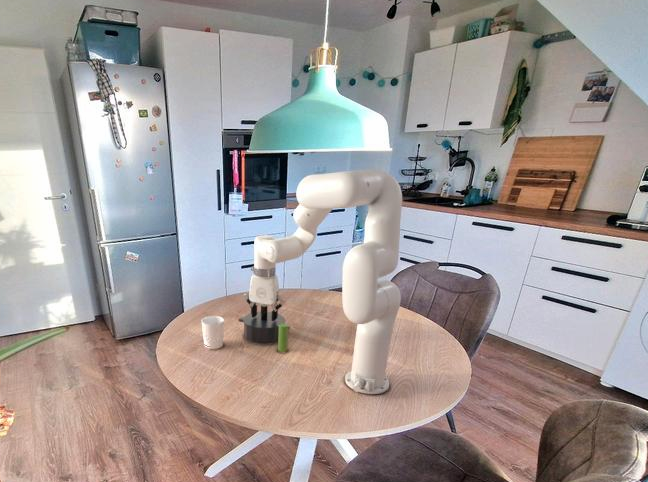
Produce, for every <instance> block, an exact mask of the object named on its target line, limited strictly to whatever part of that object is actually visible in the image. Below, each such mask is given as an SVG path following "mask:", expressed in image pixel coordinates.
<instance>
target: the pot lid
mask: <svg viewBox="0 0 648 482" xmlns="http://www.w3.org/2000/svg"><path fill="white" fill-rule="evenodd" d="M268 306H269V305H265V304H261V305H260V311H257V315H256V316H255V317H254V318H252V314H251V312H250V313H248V314H246V315H245V316H243V317H244V318H243V322H242V323H243V325H244V324H245V325H247V326H249V327H252V328H256V329H273V328H277V327H279V324H281V323H286V318H285V317H284V316H283V315H282V314H279V313H278V317H277V319H276V320H275V321H272V311H268Z"/></svg>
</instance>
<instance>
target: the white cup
mask: <svg viewBox="0 0 648 482" xmlns="http://www.w3.org/2000/svg"><path fill="white" fill-rule="evenodd" d="M200 322H201V331H202V338H203V344H205V345H207V346H211V347H207V346H205V345H204V347H205V348H206V349H209V350H216V349H219V348H222V347H223V346H224V337H225V335H224V333H225V319H224V318H223V317H222V316H219V315H208V316H205V317H203V318H201V321H200ZM220 345H221V346H220ZM216 346H219V347H216Z"/></svg>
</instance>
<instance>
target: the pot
mask: <svg viewBox="0 0 648 482" xmlns="http://www.w3.org/2000/svg"><path fill="white" fill-rule="evenodd" d="M244 317H245V316H241V317H239V318H238V322H240V323H243V337H244V338H245V339H246V340H247V341H249V342H251V343H253V344H254V343H255V344H258V345H269V344H275V343H278V336H279V327H277V328H273V329H256V328H252V327H249V326H247V325H245V324H244V322H243V318H244ZM290 329H291V326H290V325H288V331H289V330H290Z"/></svg>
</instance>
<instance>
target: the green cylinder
mask: <svg viewBox="0 0 648 482" xmlns="http://www.w3.org/2000/svg"><path fill="white" fill-rule="evenodd" d="M288 326H289V324H288V323H286V322H285V323H281V324H279V336H278V342H277V350H278V352H281V353H284V352H288V346H289V345H288V342H289V330H288Z"/></svg>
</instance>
